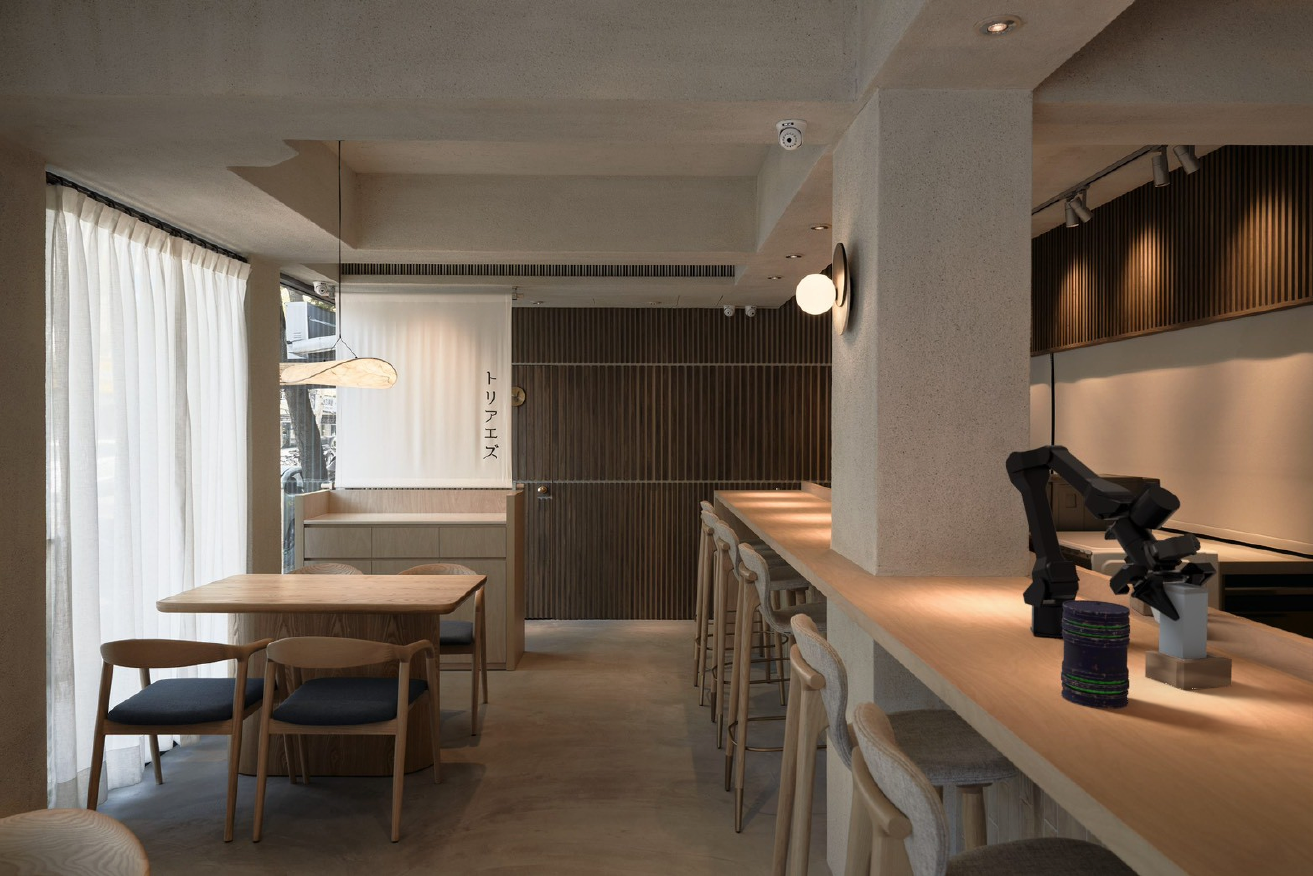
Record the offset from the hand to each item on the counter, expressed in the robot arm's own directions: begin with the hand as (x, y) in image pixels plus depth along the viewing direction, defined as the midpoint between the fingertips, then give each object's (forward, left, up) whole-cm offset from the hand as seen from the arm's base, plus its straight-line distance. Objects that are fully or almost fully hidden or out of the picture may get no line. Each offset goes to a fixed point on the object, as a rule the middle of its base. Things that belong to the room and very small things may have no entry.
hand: (1189, 618), depth 151 cm
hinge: (+8, +43, -11) cm, 46 cm away
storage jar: (-17, -16, -11) cm, 26 cm away
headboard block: (-1, +1, -11) cm, 11 cm away
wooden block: (+7, +61, -11) cm, 63 cm away
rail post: (-1, +1, -7) cm, 7 cm away
